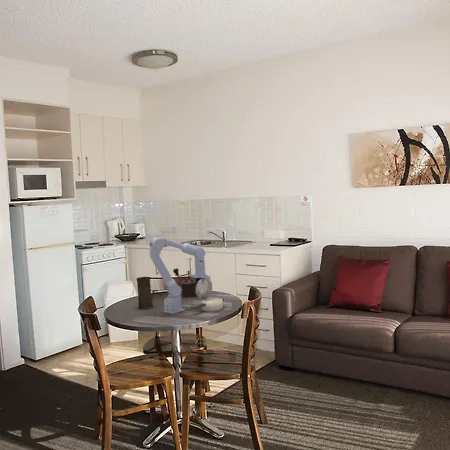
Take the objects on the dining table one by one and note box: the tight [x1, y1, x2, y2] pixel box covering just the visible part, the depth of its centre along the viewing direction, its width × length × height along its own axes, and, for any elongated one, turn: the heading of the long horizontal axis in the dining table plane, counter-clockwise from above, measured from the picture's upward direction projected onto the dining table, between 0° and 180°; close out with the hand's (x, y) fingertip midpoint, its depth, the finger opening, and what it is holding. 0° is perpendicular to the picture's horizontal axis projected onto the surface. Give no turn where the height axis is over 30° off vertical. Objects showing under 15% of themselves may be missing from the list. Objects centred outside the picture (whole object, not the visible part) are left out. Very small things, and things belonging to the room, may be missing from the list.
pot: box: [190, 297, 225, 313], centre depth 278 cm, size 23×12×5 cm, turn 135°
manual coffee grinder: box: [172, 267, 197, 299], centre depth 319 cm, size 16×11×18 cm
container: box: [135, 276, 154, 310], centre depth 294 cm, size 9×9×18 cm
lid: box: [196, 278, 213, 300], centre depth 285 cm, size 12×12×2 cm
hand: (201, 290), depth 286 cm, fingers closed
